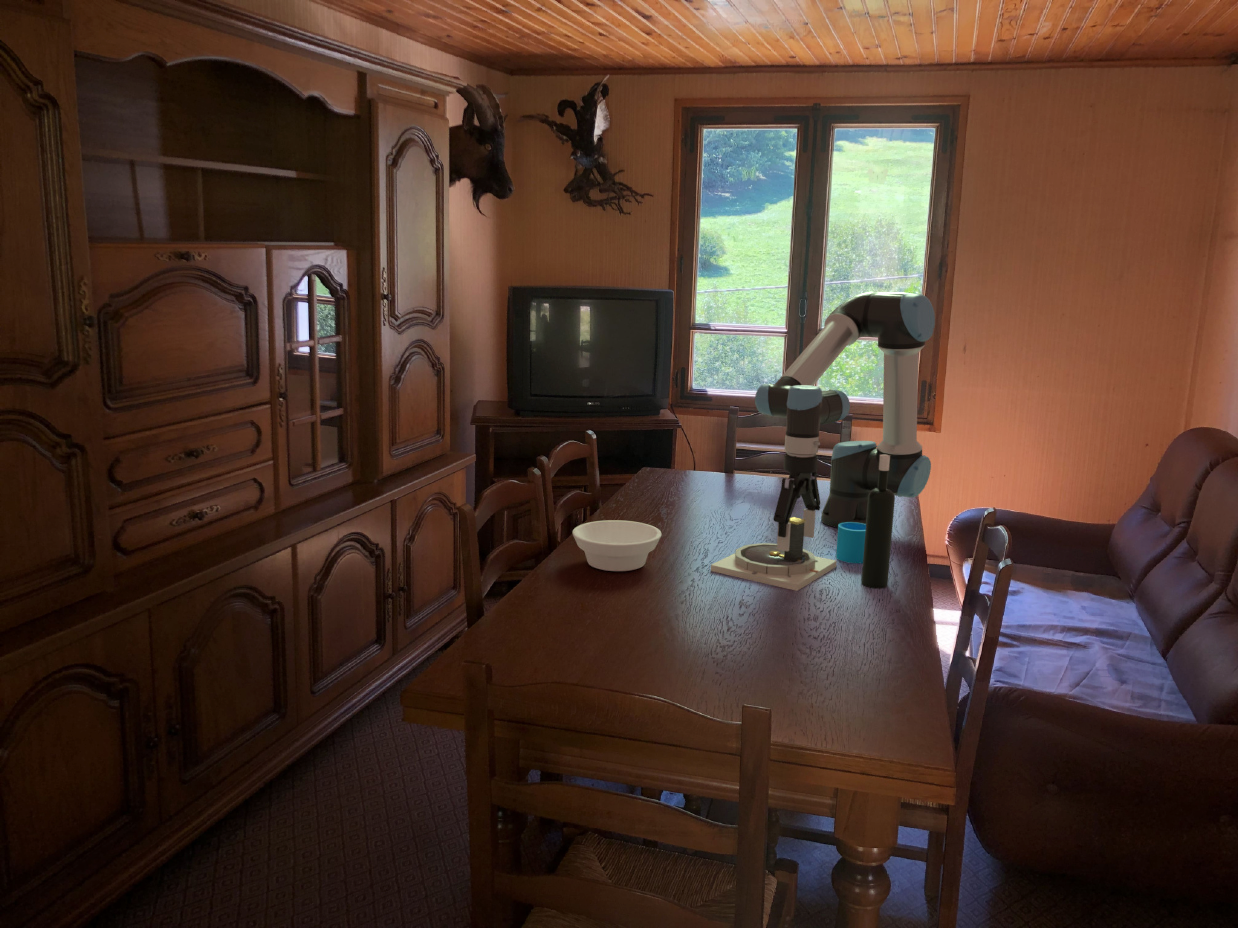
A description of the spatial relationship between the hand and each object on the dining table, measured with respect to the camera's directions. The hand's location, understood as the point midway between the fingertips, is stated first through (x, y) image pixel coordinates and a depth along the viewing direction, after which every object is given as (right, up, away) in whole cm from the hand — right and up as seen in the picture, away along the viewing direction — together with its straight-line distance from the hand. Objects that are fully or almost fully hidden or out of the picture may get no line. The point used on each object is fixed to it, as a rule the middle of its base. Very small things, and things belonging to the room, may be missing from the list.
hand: (795, 543), depth 223 cm
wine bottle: (+17, -9, -5) cm, 20 cm away
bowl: (-42, -6, +5) cm, 42 cm away
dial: (-4, -5, +4) cm, 7 cm away
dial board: (-4, -6, +4) cm, 9 cm away
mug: (+17, -5, +16) cm, 24 cm away
